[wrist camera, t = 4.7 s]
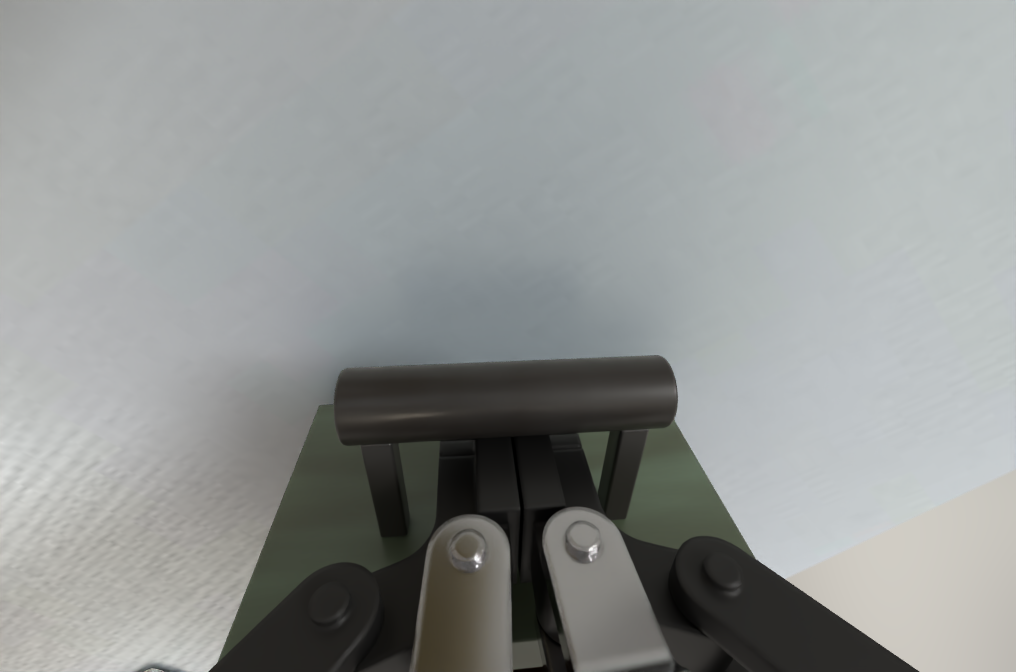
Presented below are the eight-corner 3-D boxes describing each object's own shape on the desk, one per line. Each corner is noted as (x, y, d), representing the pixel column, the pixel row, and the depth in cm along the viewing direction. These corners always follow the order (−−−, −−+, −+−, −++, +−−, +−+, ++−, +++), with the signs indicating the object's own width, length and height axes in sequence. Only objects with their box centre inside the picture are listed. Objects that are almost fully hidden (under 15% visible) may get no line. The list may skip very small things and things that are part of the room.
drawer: (282, 274, 11) (90, 515, 5) (687, 265, 12) (899, 462, 6) (377, 614, 20) (344, 839, 14) (604, 593, 21) (659, 798, 15)
